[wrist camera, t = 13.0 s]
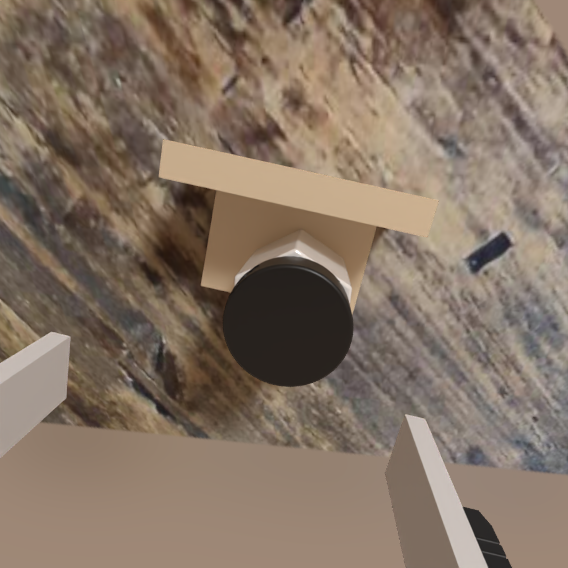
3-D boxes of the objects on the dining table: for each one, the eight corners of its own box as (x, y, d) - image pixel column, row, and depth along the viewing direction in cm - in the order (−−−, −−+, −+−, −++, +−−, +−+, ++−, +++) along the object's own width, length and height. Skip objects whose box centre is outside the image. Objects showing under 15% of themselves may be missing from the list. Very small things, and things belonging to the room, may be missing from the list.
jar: (254, 224, 36) (223, 251, 24) (348, 233, 35) (362, 263, 24) (248, 321, 38) (218, 386, 27) (337, 330, 38) (344, 400, 26)
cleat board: (187, 274, 40) (142, 310, 30) (207, 147, 37) (163, 139, 27) (369, 315, 40) (386, 367, 30) (405, 191, 37) (439, 200, 26)
